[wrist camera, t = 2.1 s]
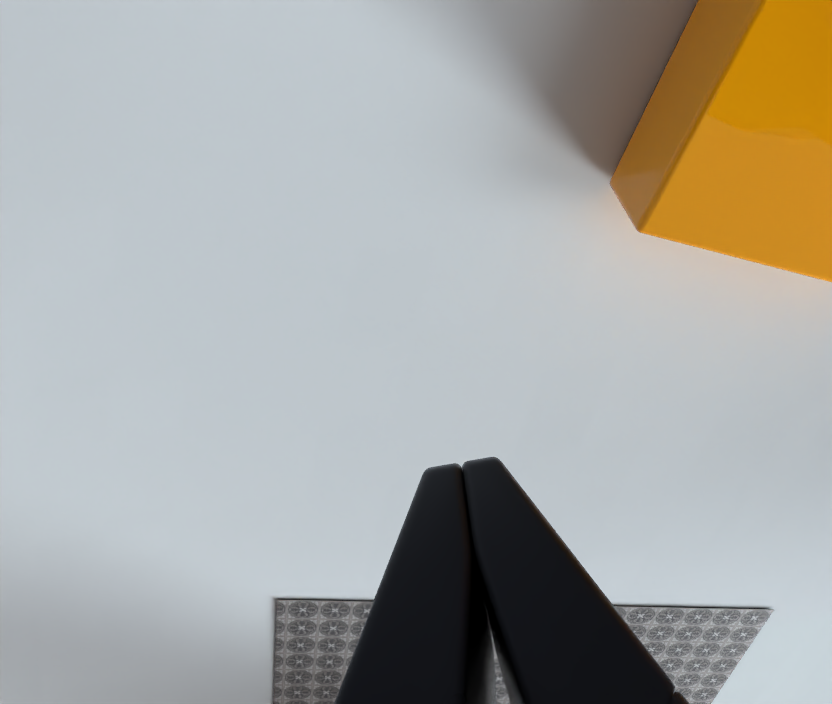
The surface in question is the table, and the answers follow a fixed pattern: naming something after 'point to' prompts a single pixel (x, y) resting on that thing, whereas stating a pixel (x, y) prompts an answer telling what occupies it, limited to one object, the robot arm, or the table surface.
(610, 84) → the table surface
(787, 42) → the mustard yellow box
